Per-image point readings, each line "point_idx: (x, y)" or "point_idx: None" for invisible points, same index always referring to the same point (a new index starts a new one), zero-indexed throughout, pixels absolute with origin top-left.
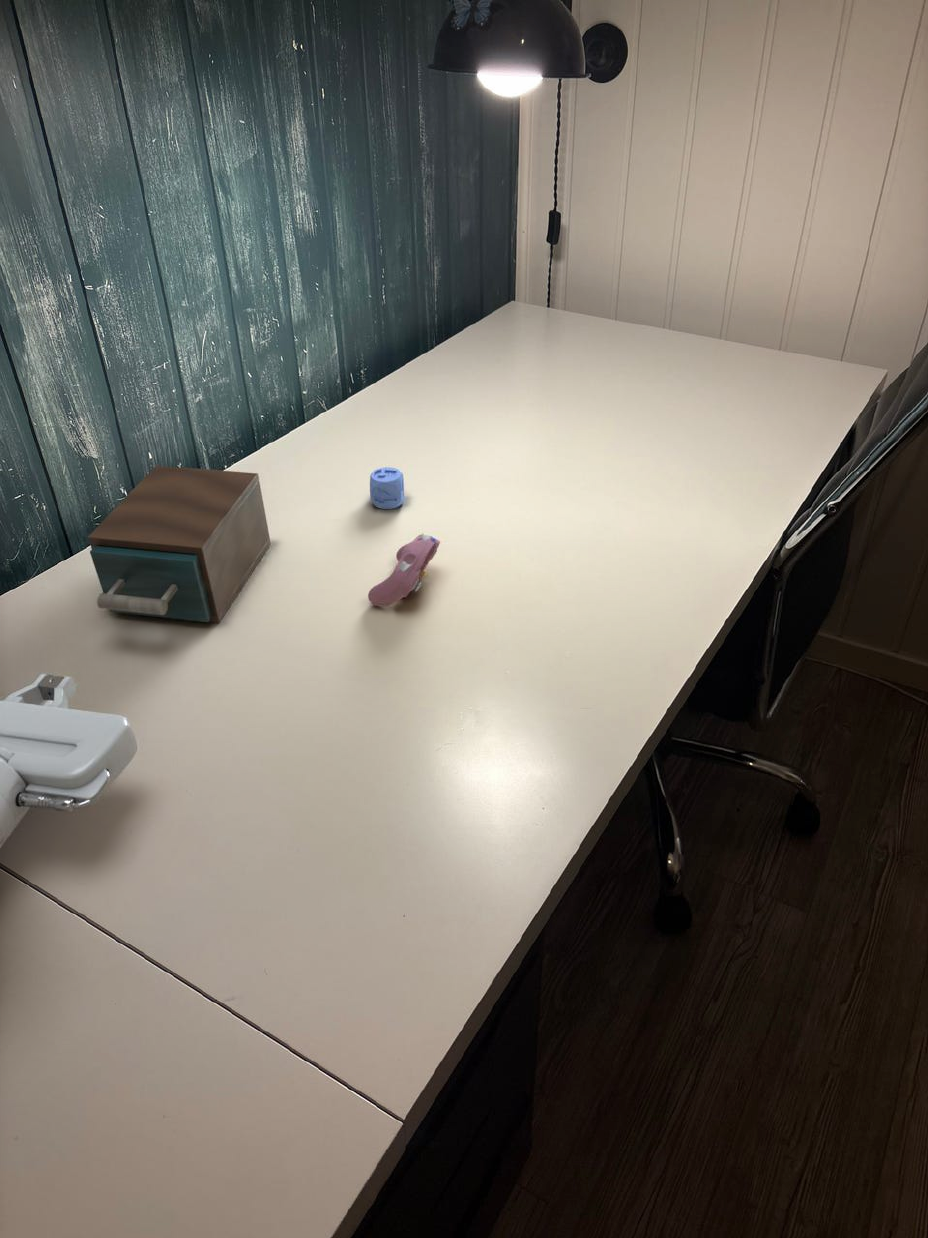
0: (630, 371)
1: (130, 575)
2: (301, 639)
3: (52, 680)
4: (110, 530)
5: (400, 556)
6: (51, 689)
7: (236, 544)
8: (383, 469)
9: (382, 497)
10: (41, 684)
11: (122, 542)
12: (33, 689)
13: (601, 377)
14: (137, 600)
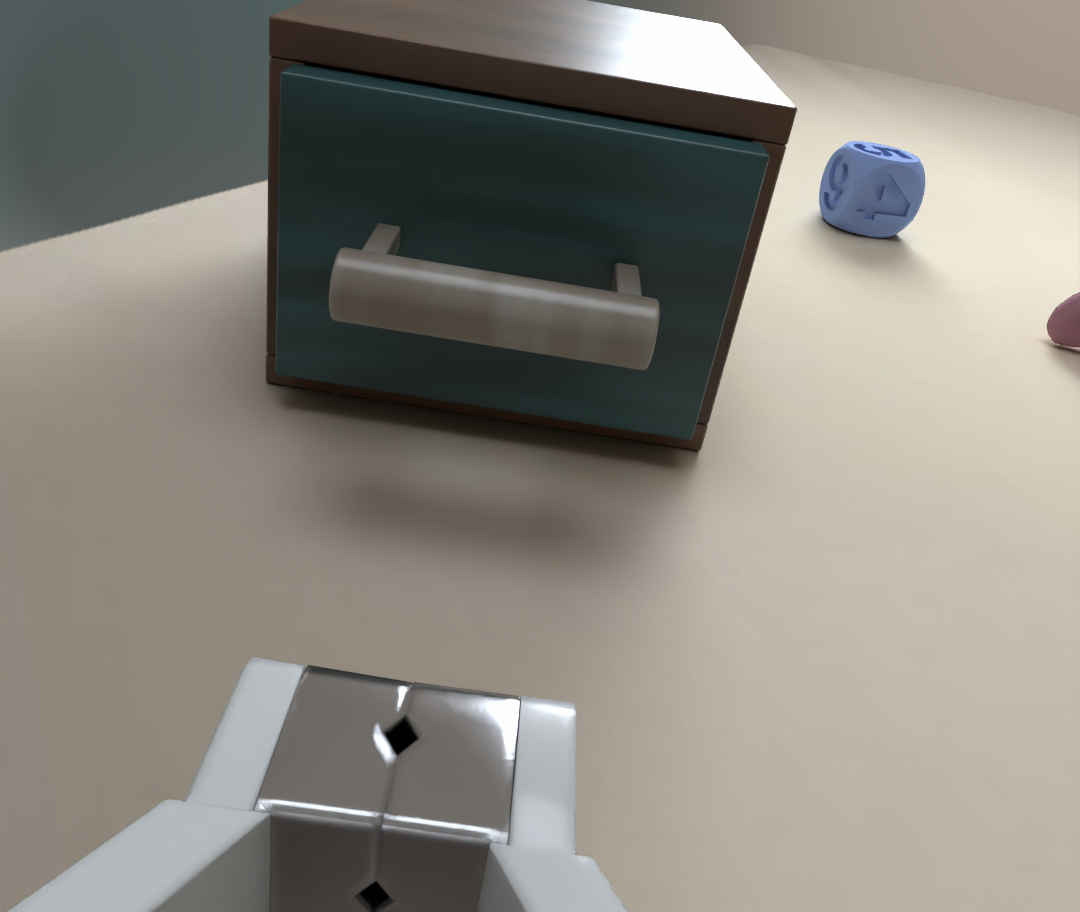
0: (1031, 127)
1: (438, 209)
2: (1036, 526)
3: (392, 737)
4: (357, 21)
5: (1077, 318)
6: (430, 858)
7: None
8: (865, 144)
9: (873, 205)
10: (308, 795)
11: (433, 55)
12: (219, 868)
13: (997, 126)
14: (539, 288)
